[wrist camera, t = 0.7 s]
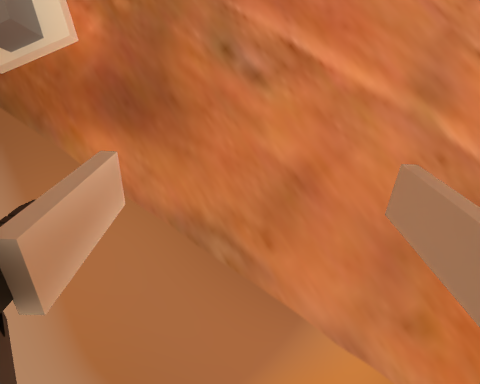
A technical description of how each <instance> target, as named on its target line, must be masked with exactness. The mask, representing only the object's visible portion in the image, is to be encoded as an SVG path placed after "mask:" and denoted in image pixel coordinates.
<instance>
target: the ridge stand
mask: <svg viewBox="0 0 480 384" xmlns="http://www.w3.org/2000/svg"><path fill="white" fill-rule="evenodd" d="M77 41H79V40H78V37H77V34H76V31H75V28H74V24H73V21H72V18H71V15H70V12H69V8H68V5H67V2H66V0H0V73H1V74H3V73H5V72H7V71H10V70H12V69H14V68H17V67H19V66H21V65H24V64H26V63H28V62H31V61H33V60H35V59H38V58H40V57H42V56H45V55H47V54H49V53H52V52H54V51H56V50H59V49H61V48H63V47H66V46H68V45H70V44H73V43H75V42H77Z"/></svg>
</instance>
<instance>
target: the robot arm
mask: <svg viewBox="0 0 480 384" xmlns="http://www.w3.org/2000/svg"><path fill="white" fill-rule="evenodd" d="M124 205H125V199H124V192H123V186H122V179H121V173H120V167H119V160H118V154H117V152H114V151H99V152H98V153H97V154H96V155H94V156H93V157H92V158H90V159H89V160H88V161H86V162H85V163H84V164H82V165H81V166H80V167H78V168H77V169H76V170H75V171H73V172H72V173H71V174H69V175H68V176H67V177H65V178H64V179H63V180H61V181H60V182H59V183H57V184H56V185H55V186H54V187H52V188H51V189H50V190H48V191H47V192H46V193H44V194H43V195H42V196H40V197H39V198H38V199H36V200H32V201H30V202H28V203H26V204H24V205H21V206H19V207H18V208H16V209H15V210H14V211H12V212H11V213H10V214H8V216H5V217H4V218H3V219H1V220H0V384H17V382H16V376H15V369H14V364H13V357H12V350H11V344H10V337H9V330H8V325H7V319H6V316H5V315H4V312H3V310H4V309H5V308H6V307H7V306H8V305H9V303H10V302H11V301H12V300H13V302H14V304H15V306H16V309H17V311H18V313H19V314H25V315H46V313H47V312H48V311H49V309H50V308H51V307H52V305H53V304H54V302H55V301H56V300H57V298H58V297H59V295H60V294H61V293H62V291H63V290H64V288H65V287H66V286H67V284H68V283H69V281H70V280H71V279H72V277H73V276H74V275H75V273H76V272H77V270H78V269H79V268H80V266H81V265H82V264H83V262H84V261H85V259H86V258H87V256H88V255H89V254H90V252H91V251H92V250H93V248H94V247H95V246H96V244H97V243H98V241H99V240H100V238H101V237H102V236H103V234H104V233H105V232H106V230H107V228H108V227H109V226H110V225H111V223H112V222H113V221H114V219H115V218H116V216H117V215H118V214H119V212H120V211H121V209H122V208H123V207H124ZM385 215H386V217H387V218H388V219H389V220H390V221H391V222H392V224H393V225H394V226H395V227H396V228H397V230H398V231H399V232H400V233H401V234H402V236H403V237H404V238H405V239H406V240H407V241H408V243H409V244H410V245H411V246H412V247H413V249H414V250H415V251H416V252H417V253H418V255H419V256H420V257H421V258H422V259H423V261H424V262H425V263H426V264H427V265H428V266H429V268H430V269H431V270H432V271H433V272H434V274H435V275H436V276H437V277H438V278H439V280H440V281H441V282H442V283H443V284H444V285H445V287H446V288H447V289H448V290H449V291H450V293H451V294H452V295H453V296H454V297H455V299H456V300H457V301H458V302H459V303H460V304H461V306H462V307H463V308H464V309H465V310H466V312H467V313H468V314H469V315H470V316H471V318H472V319H473V320H474V321H475V322H476V323H477V325H478V326H479V327H480V207H478V206H477V205H475V204H474V203H472V202H471V201H469V200H468V199H467V198H465V197H464V196H462V195H461V194H459V193H458V192H456V191H455V190H453V189H452V188H451V187H449V186H448V185H446V184H445V183H443V182H442V181H440V180H439V179H437V178H436V177H434V176H433V175H432V174H430V173H429V172H427V171H426V170H424V169H423V168H421V167H420V166H418V165H409V164H401V166H400V170H399V173H398V176H397V179H396V182H395V185H394V188H393V191H392V194H391V197H390V201H389V204H388V207H387V210H386V213H385Z"/></svg>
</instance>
